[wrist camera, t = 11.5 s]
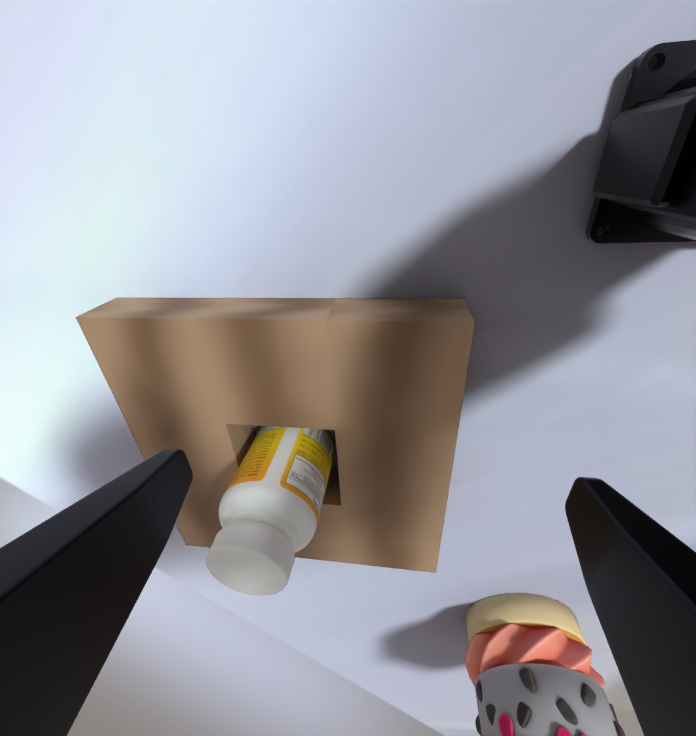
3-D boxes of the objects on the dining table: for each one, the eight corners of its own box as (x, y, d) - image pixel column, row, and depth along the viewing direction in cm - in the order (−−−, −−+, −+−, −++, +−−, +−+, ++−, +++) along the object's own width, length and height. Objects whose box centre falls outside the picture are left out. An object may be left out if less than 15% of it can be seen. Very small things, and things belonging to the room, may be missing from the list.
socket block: (464, 298, 18) (475, 321, 15) (432, 535, 28) (435, 572, 25) (116, 297, 20) (75, 317, 18) (204, 512, 31) (185, 544, 28)
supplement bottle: (343, 414, 23) (309, 556, 14) (331, 468, 25) (298, 613, 17) (264, 396, 23) (186, 527, 15) (261, 452, 26) (195, 588, 17)
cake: (479, 648, 37) (519, 907, 24) (447, 596, 32) (475, 879, 20) (588, 643, 33) (704, 943, 20) (569, 584, 29) (701, 920, 16)
